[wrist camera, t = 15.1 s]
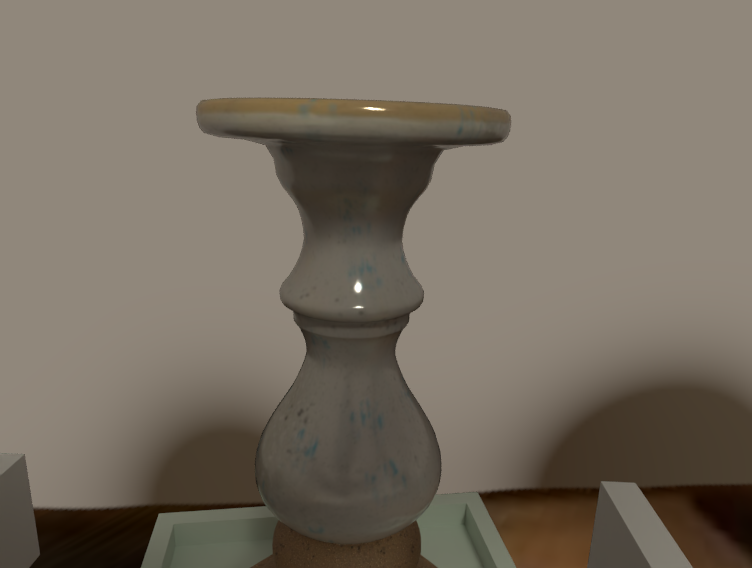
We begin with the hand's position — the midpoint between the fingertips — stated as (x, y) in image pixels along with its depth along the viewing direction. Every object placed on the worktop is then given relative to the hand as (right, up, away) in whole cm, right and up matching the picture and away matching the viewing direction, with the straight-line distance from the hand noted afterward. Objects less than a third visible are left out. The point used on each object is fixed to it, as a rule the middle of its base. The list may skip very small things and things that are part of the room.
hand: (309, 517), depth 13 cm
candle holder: (0, -12, +12) cm, 17 cm away
